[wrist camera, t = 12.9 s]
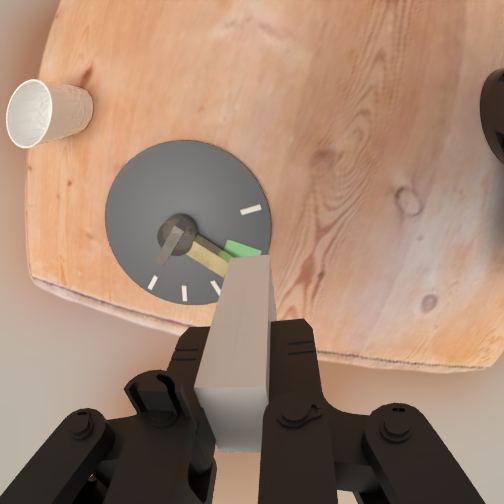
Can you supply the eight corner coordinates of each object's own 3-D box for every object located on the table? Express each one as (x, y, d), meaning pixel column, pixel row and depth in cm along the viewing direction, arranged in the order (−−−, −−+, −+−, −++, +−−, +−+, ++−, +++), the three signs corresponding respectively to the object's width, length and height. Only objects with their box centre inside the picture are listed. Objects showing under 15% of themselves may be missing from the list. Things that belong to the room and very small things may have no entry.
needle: (157, 236, 39) (143, 253, 34) (175, 204, 37) (162, 217, 32) (241, 288, 41) (237, 311, 36) (263, 260, 39) (261, 280, 35)
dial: (104, 143, 36) (98, 144, 34) (276, 143, 35) (276, 143, 34) (119, 292, 44) (115, 297, 43) (265, 306, 44) (264, 312, 42)
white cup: (73, 73, 32) (26, 67, 23) (108, 102, 34) (63, 101, 24) (45, 119, 34) (-2, 125, 25) (77, 149, 36) (31, 161, 27)
